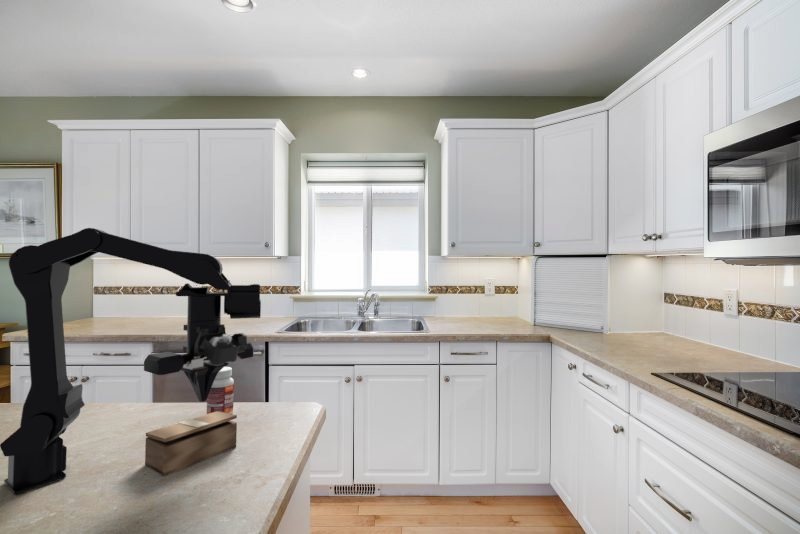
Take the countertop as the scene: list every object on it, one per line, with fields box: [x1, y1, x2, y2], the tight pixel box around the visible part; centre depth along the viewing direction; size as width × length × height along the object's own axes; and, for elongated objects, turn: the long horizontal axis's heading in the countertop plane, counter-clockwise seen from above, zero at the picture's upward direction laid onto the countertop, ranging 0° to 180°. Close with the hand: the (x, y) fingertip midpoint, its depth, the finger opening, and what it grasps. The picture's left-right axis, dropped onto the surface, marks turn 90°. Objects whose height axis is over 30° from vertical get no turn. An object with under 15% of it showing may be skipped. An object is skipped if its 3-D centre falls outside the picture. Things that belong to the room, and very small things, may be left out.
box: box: [144, 420, 238, 477], centre depth 76 cm, size 14×7×5 cm, turn 147°
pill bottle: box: [206, 366, 235, 414], centre depth 99 cm, size 6×6×11 cm
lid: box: [145, 411, 238, 442], centre depth 76 cm, size 14×7×1 cm, turn 147°
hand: (202, 401), depth 75 cm, fingers closed
